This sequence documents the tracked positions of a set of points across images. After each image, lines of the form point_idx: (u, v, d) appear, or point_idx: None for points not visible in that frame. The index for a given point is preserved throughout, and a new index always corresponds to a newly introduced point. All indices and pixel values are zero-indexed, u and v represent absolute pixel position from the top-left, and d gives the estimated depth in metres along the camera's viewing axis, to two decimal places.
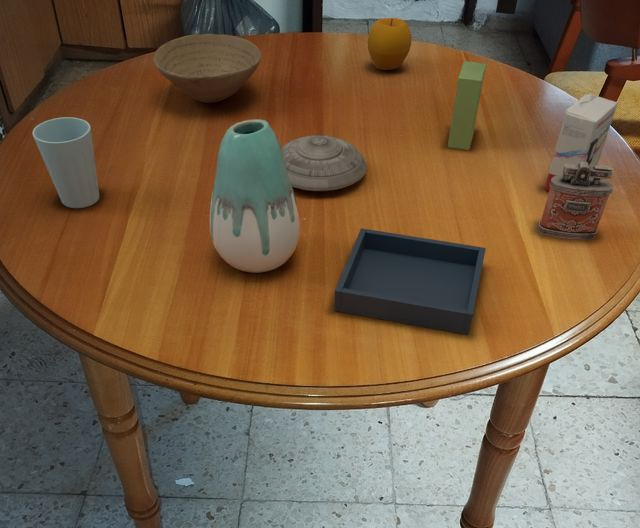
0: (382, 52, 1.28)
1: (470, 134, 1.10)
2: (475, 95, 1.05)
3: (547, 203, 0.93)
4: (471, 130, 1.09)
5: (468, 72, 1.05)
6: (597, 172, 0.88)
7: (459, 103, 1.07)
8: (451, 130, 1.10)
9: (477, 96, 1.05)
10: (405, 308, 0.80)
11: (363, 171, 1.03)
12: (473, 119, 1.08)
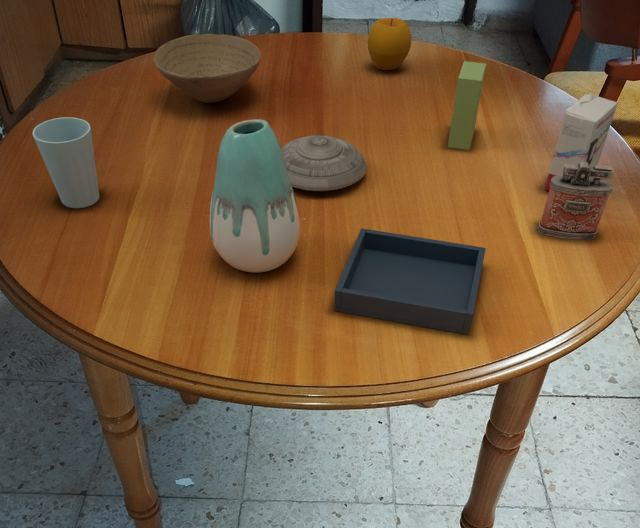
0: (382, 52, 1.28)
1: (470, 134, 1.10)
2: (475, 95, 1.05)
3: (547, 203, 0.93)
4: (471, 130, 1.09)
5: (468, 72, 1.05)
6: (597, 172, 0.88)
7: (459, 103, 1.07)
8: (451, 130, 1.10)
9: (477, 96, 1.05)
10: (405, 308, 0.80)
11: (363, 171, 1.03)
12: (473, 119, 1.08)
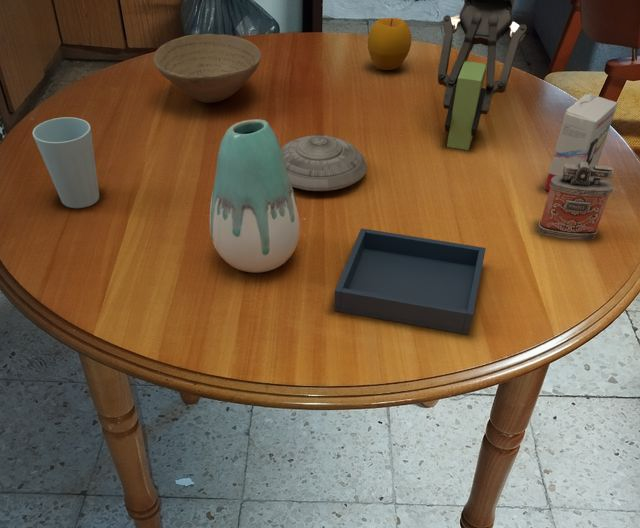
0: (382, 52, 1.28)
1: (469, 134, 1.10)
2: (474, 95, 1.05)
3: (547, 203, 0.93)
4: (470, 130, 1.09)
5: (468, 71, 1.05)
6: (597, 172, 0.88)
7: (459, 103, 1.07)
8: (450, 130, 1.10)
9: (476, 96, 1.05)
10: (405, 308, 0.80)
11: (363, 171, 1.03)
12: (472, 119, 1.08)
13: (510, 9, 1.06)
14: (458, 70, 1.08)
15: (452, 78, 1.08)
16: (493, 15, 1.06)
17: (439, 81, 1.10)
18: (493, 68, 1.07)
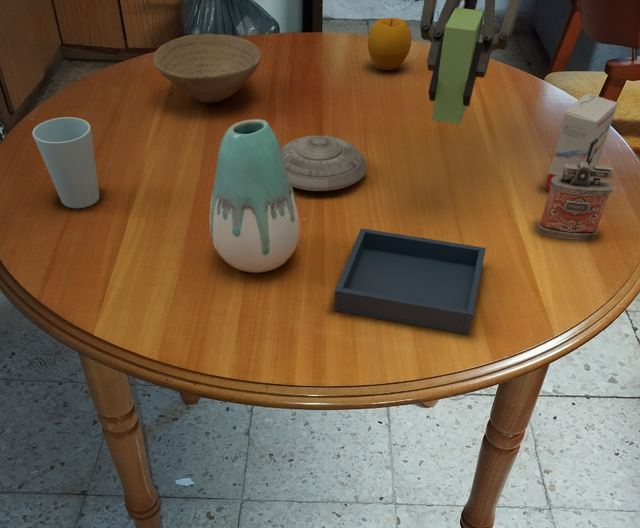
0: (382, 52, 1.28)
1: (461, 103, 0.85)
2: (467, 50, 0.80)
3: (547, 203, 0.93)
4: (462, 98, 0.84)
5: (459, 20, 0.80)
6: (597, 172, 0.88)
7: (447, 62, 0.82)
8: (436, 98, 0.85)
9: (470, 52, 0.80)
10: (405, 308, 0.80)
11: (363, 171, 1.03)
12: (465, 83, 0.83)
13: None
14: (446, 19, 0.83)
15: (439, 30, 0.83)
16: None
17: (422, 34, 0.85)
18: (492, 16, 0.82)
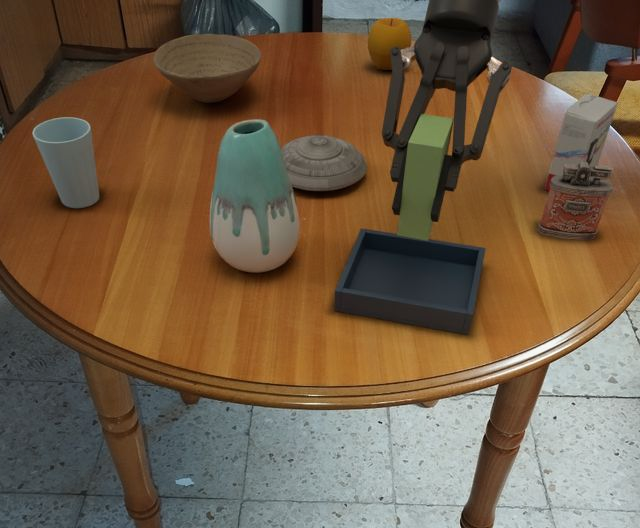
0: (382, 52, 1.28)
1: (429, 220, 0.75)
2: (434, 167, 0.71)
3: (547, 203, 0.93)
4: (430, 215, 0.75)
5: (425, 132, 0.71)
6: (597, 172, 0.88)
7: (412, 178, 0.72)
8: (401, 213, 0.75)
9: (437, 169, 0.71)
10: (405, 308, 0.80)
11: (363, 171, 1.03)
12: (432, 200, 0.73)
13: (488, 39, 0.72)
14: (411, 128, 0.73)
15: (403, 139, 0.73)
16: (462, 48, 0.71)
17: (385, 142, 0.75)
18: (462, 126, 0.72)
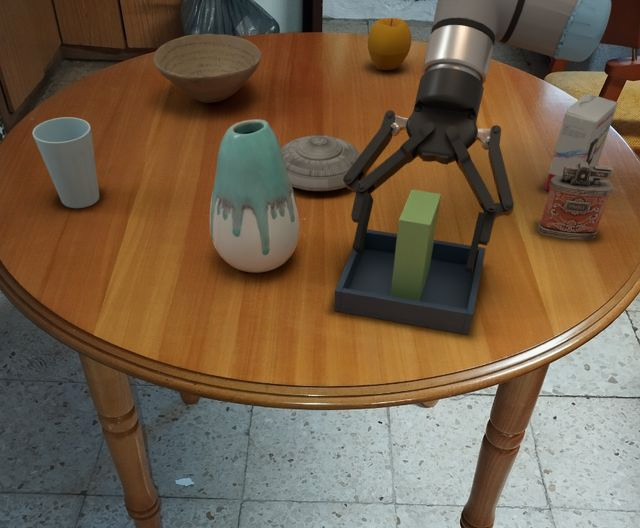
0: (382, 52, 1.28)
1: (419, 286, 0.82)
2: (423, 241, 0.77)
3: (547, 203, 0.93)
4: (420, 281, 0.81)
5: (414, 209, 0.78)
6: (597, 172, 0.88)
7: (403, 250, 0.79)
8: (394, 279, 0.82)
9: (425, 243, 0.77)
10: (405, 308, 0.80)
11: None
12: (422, 269, 0.80)
13: (474, 118, 0.78)
14: (374, 180, 0.80)
15: (363, 185, 0.80)
16: (450, 127, 0.77)
17: None
18: (484, 187, 0.78)
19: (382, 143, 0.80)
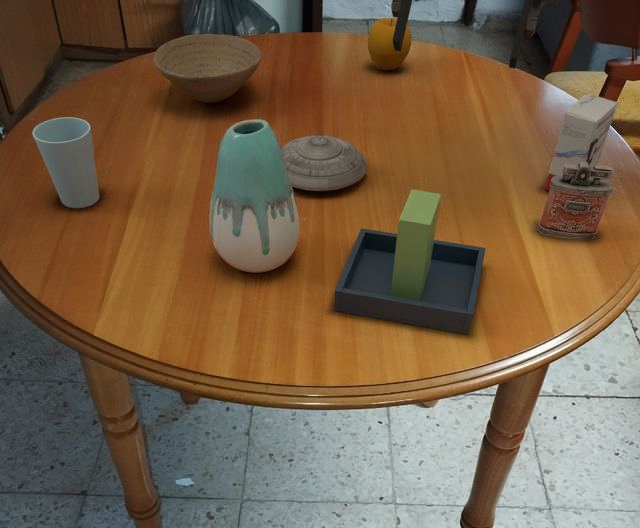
0: (382, 52, 1.28)
1: (419, 286, 0.82)
2: (423, 241, 0.77)
3: (547, 203, 0.93)
4: (420, 281, 0.81)
5: (414, 209, 0.78)
6: (597, 172, 0.88)
7: (403, 250, 0.79)
8: (394, 279, 0.82)
9: (425, 243, 0.77)
10: (405, 308, 0.80)
11: (363, 171, 1.03)
12: (422, 269, 0.80)
13: None
14: None
15: None
16: None
17: None
18: None
19: None
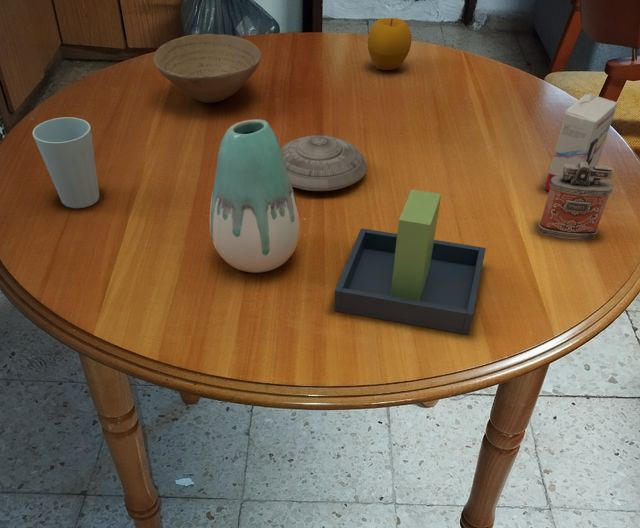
0: (382, 52, 1.28)
1: (419, 286, 0.82)
2: (423, 241, 0.77)
3: (547, 203, 0.93)
4: (420, 281, 0.81)
5: (414, 209, 0.78)
6: (597, 172, 0.88)
7: (403, 250, 0.79)
8: (394, 279, 0.82)
9: (425, 243, 0.77)
10: (405, 308, 0.80)
11: (363, 171, 1.03)
12: (422, 269, 0.80)
13: None
14: None
15: None
16: None
17: None
18: None
19: None
